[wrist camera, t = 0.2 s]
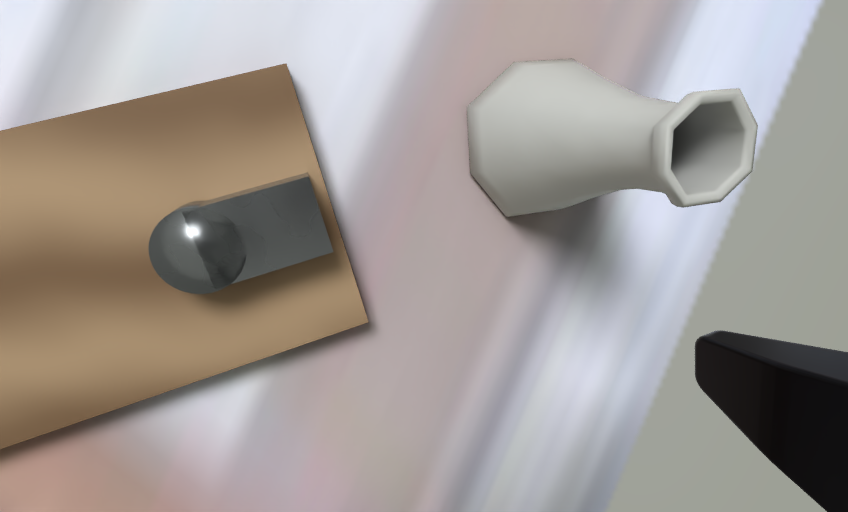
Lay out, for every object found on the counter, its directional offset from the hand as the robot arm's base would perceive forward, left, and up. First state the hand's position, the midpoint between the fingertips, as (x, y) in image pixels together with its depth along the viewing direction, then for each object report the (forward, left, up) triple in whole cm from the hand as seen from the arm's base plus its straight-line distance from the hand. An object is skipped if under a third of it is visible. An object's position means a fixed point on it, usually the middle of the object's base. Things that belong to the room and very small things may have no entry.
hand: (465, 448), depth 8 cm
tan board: (+2, +13, -14) cm, 19 cm away
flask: (+2, -9, -15) cm, 18 cm away
